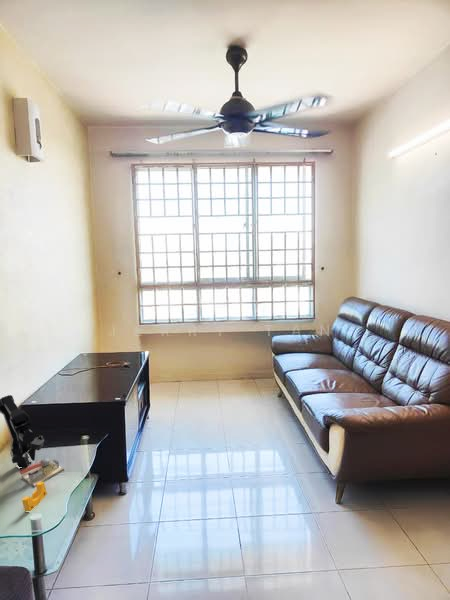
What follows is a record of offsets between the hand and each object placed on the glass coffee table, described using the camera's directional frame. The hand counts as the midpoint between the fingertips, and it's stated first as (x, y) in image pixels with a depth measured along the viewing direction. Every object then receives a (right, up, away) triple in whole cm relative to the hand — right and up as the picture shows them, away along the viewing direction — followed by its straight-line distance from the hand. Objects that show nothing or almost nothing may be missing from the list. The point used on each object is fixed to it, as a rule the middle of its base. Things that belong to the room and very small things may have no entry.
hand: (30, 464), depth 195 cm
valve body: (+8, -4, -1) cm, 9 cm away
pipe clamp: (+14, -8, -23) cm, 28 cm away
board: (+6, -5, +1) cm, 8 cm away
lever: (+4, -1, -3) cm, 5 cm away
